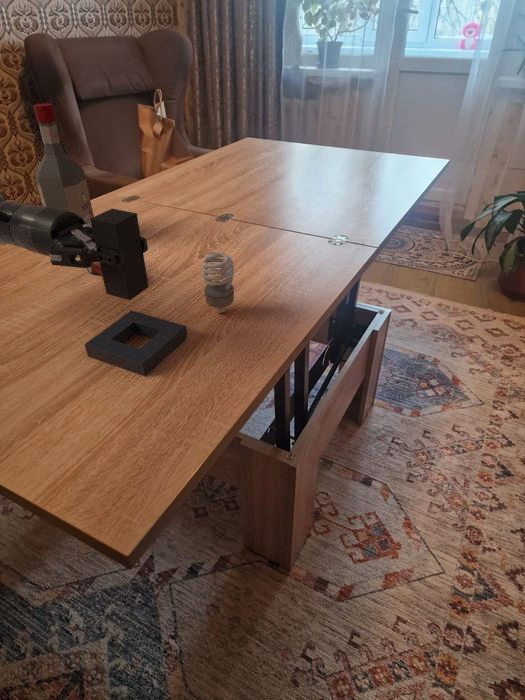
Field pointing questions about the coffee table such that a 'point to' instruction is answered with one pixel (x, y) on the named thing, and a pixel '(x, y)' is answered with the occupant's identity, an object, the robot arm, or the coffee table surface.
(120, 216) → the post
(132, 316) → the base pad
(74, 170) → the liquor
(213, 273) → the light bulb
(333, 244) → the coffee table surface
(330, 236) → the coffee table surface
